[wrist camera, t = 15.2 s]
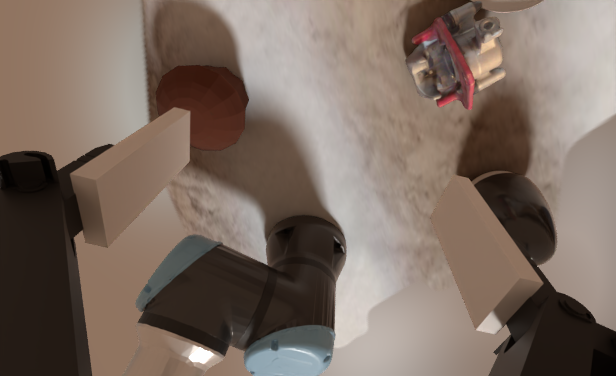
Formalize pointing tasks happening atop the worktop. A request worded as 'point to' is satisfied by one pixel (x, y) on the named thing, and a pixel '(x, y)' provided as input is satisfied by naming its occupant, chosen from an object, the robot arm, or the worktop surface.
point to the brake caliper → (457, 56)
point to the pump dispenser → (520, 211)
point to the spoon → (508, 5)
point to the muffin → (206, 103)
